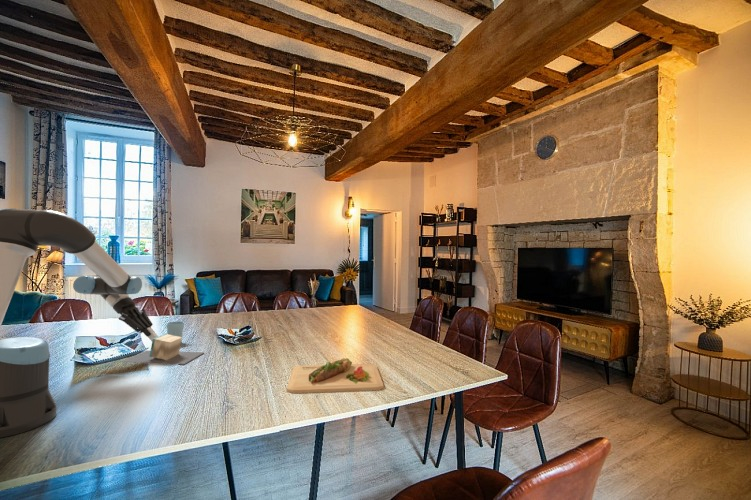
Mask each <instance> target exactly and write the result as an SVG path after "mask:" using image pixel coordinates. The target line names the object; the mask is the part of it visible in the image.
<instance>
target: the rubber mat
mask: <svg viewBox="0 0 751 500" xmlns="http://www.w3.org/2000/svg"><path fill="white" fill-rule="evenodd" d="M150 351H151V350H144V351H142V352H140V353H137V354H135V355H133V356H130V357H128V358H125V359H123V360H121V361H120V362H122V363H141V364H142V363H143V364H144V363H148V364H149V363H150V364H170V365H171V364H176V365H178V366H185V365H187V364H188V363H191V362H192V361H194V360H195V359H197V358H198V357H200V356H202V355H204V354H205V352H203V351H179V354H178V355H176V356H174V357H172V358H170V359H168V360H163V359H159V358H154V357H150Z"/></svg>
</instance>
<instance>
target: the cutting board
mask: <svg viewBox="0 0 751 500" xmlns="http://www.w3.org/2000/svg"><path fill="white" fill-rule="evenodd" d="M382 380H383V379H382V378H381V374H380V371H379V369H378V367H377V364H373V363H356V364H355V363H354V364H353V362H352V361H351V359H349V357H348V358H347V357H346V358H344V357H343V358H342V359H337V360H335V361H332V362H331V361H326V363H325V364H314V365H313V364H311V365H297V366H293V369H292V371H291V374H290V377H289V379H288V383H287V387H286V392H287V393H291V394H299V393H301V394H304V393H305V394H306V393H307V394H309V393H329V392H330V393H332V392H333V393H334V392H354V391H355V392H359V391H379V390H381V389H384V383H383V381H382Z"/></svg>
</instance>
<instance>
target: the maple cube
mask: <svg viewBox="0 0 751 500" xmlns="http://www.w3.org/2000/svg"><path fill="white" fill-rule="evenodd" d="M158 336H159V337H156V338H153V341H151V347H150V350H149V351H150V357H154V358H159V359H163V360H168V359H170V358H172V357H174V356H176V355H178V354H179V352H180V349H181V345H182V340H183V336H182V337H178V336H173V335H169V334H168V333H164V334H161V335H158Z"/></svg>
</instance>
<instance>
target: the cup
mask: <svg viewBox="0 0 751 500" xmlns="http://www.w3.org/2000/svg"><path fill="white" fill-rule="evenodd" d="M184 325H185V321H180V320H179V321H178V320H177V321H171V322H167V323H166V330H167V334H169V335H173V336H178V337H182V338H183V332H184Z"/></svg>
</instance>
